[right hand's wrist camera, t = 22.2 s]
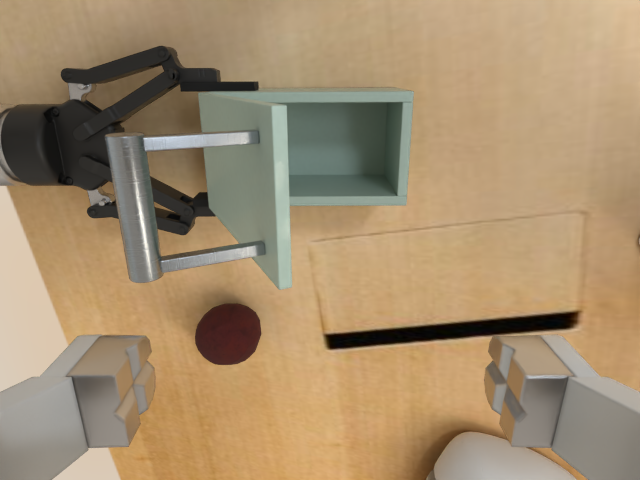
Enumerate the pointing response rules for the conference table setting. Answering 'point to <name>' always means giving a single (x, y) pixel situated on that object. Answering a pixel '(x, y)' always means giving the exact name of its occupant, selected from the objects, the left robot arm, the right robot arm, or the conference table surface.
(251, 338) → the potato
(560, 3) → the conference table surface
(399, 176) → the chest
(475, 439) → the grey rounded piece
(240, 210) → the lid
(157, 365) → the conference table surface
